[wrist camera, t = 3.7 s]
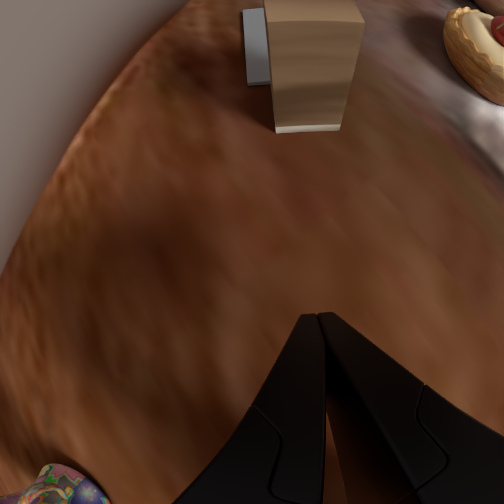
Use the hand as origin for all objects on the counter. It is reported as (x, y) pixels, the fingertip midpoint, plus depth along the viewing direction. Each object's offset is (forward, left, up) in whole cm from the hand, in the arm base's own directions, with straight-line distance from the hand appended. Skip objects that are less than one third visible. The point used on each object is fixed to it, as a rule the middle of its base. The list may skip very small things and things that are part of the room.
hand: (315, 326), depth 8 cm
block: (+15, +1, -11) cm, 18 cm away
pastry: (+25, -18, -11) cm, 33 cm away
